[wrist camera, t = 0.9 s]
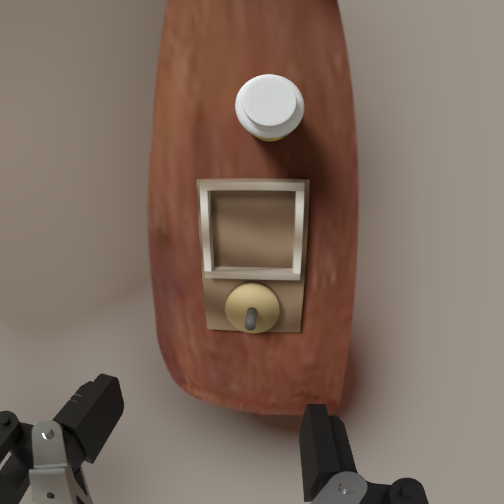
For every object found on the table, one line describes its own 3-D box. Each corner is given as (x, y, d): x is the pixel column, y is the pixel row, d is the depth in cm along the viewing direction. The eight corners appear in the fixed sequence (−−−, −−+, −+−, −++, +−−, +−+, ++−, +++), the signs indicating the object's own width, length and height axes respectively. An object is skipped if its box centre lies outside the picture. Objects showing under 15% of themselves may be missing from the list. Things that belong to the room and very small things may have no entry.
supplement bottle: (282, 150, 29) (287, 150, 20) (235, 128, 29) (217, 118, 19) (305, 106, 27) (320, 86, 18) (258, 84, 27) (251, 55, 17)
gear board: (198, 178, 31) (184, 185, 26) (308, 179, 30) (315, 185, 25) (208, 324, 38) (199, 350, 32) (299, 327, 37) (302, 354, 32)
